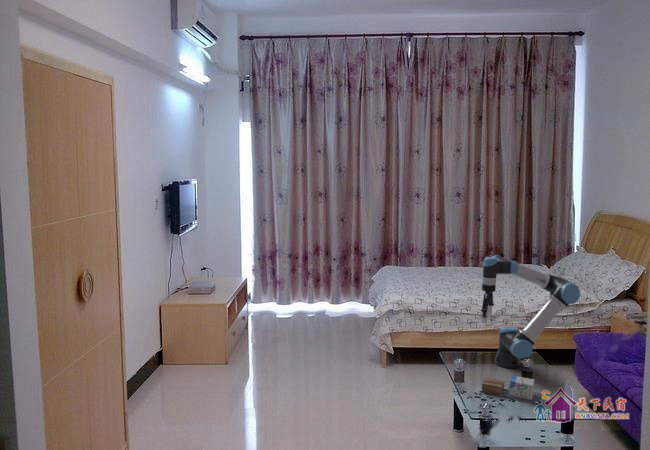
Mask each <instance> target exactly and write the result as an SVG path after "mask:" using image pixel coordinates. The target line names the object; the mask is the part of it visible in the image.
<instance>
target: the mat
mask: <svg viewBox="0 0 650 450" xmlns="http://www.w3.org/2000/svg"><path fill="white" fill-rule="evenodd" d="M509 392H510V386H508V387H507V391H506V393H505V394H504V395H503V398H507V399H509V400H511V399H512V400H516V401H521V402H524V401H525V402H526V403H529V402H533V403H532V404H534V403H535V402H540V400H539V399H541V397H542V393H541V392H537V391H534V393H533V398H532V400H530V399H524V398H519V397H514V396H509Z"/></svg>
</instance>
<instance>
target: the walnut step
mask: <svg viewBox="0 0 650 450" xmlns="http://www.w3.org/2000/svg"><path fill="white" fill-rule="evenodd" d="M504 391H505V380H503V379H498V378H492V377H487V376H486V377H485V378H484V380H483V381H482V383H481V393H484V394H488V395H493V396H497V397H502V395H503V392H504Z"/></svg>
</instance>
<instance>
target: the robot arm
mask: <svg viewBox="0 0 650 450" xmlns="http://www.w3.org/2000/svg"><path fill="white" fill-rule="evenodd" d="M482 265H483V266H482V267H483V268H482V277H481V279H482V281H481V282H482V284H481V291H483V292H485V293H484V294H483V299H482V306H481V309H480V312H482V313H481V323H482V324H487V323H488V317H489V318H491V317H492V315H493V307H494V305H495V303H494V292H496V286H497V285H496V284H497V275H512V276H514V277H516V278H520V279H522V280H524V281H527V282H529V283H531V284H535V285H537V286H539V287H540V289H543V290H545V291H547V292H548V293H550V294H549V299H547V301H546V302H545V304H543V306H542V307H541V308H540V309H539V310H538V312H536V313H535V315H534V316H533V317H532V318H531V320H530V321H529V322H528V323H527V324H526V325H525V326H524V327H523V328H522V329H520V327H515V326H502V327H500V328H499V332H498V333H499V336H498V337H499V338H498V349H497V353H496V355H495V357H494V363H495V365H497V366H499V367H501V368H506V369H517V368H516V367H518V366H519V365H520V366H521V364H520V363H522V361H521V359H526V358H528V357H530V356H531V355H532V353H533V348H534V345H535V344H536V339H537V338H538V337H539V335H540V334H541V333H542V332H543V331H544V330H545V329H546V328H547V327H548V325H549V324H550V323H551V322H552V320H553V319H554V318H555V317H556V316H557V315H558V314H559V312H560V311H561V310H562V309H565V308H567V307H569V305H573V304H575V303H577V302H578V301H579V299H580V297H581V290H580V287H579V286H578V285H577V284H576V283H574V282H572V281H570V280H568V279H565V278H564V277H560V276H557V275H552V274H550V273H543V272H540V271H538V270H535V269H533V268H530V267H527V266H525V265H523V264H520V263H518V261H515V260H510V259H508V258H505V257H502V256H501V255H498V254H495V255H493V256H485V257H484V259H483V263H482ZM518 368H519V367H518Z"/></svg>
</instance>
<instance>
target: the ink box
mask: <svg viewBox="0 0 650 450" xmlns="http://www.w3.org/2000/svg"><path fill="white" fill-rule="evenodd" d="M509 387H510V392H509V396H514V397H519V398H524V399H530V400H532V398H533V393H534V392H535V379H534V378H528V377H522V376H517V375H512V376H511V378H510V382H509Z"/></svg>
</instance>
